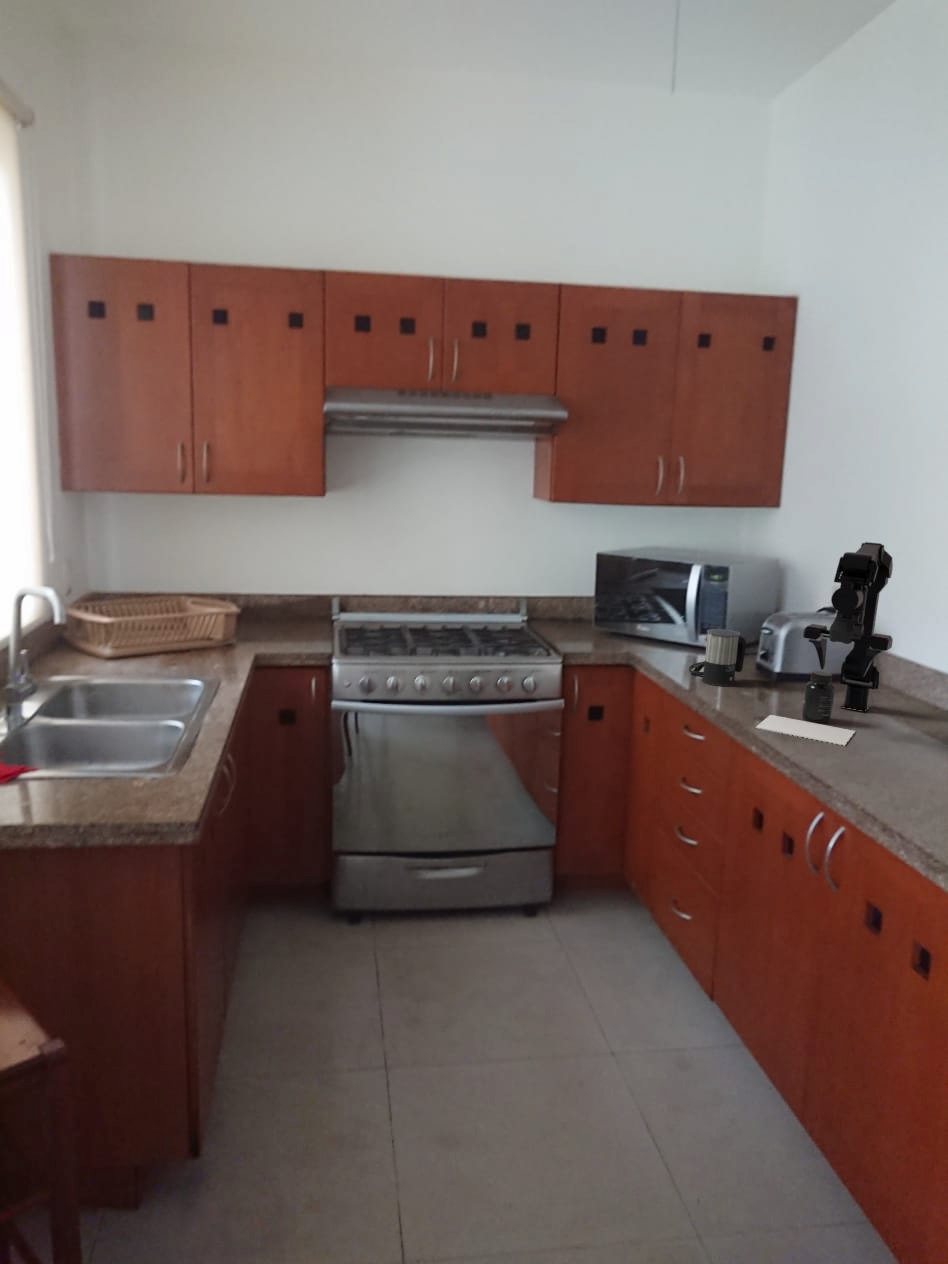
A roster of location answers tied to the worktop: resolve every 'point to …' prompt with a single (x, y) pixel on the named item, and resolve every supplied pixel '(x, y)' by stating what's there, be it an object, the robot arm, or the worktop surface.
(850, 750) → the worktop surface
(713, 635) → the milk frother
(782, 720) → the mat
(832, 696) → the supplement bottle
